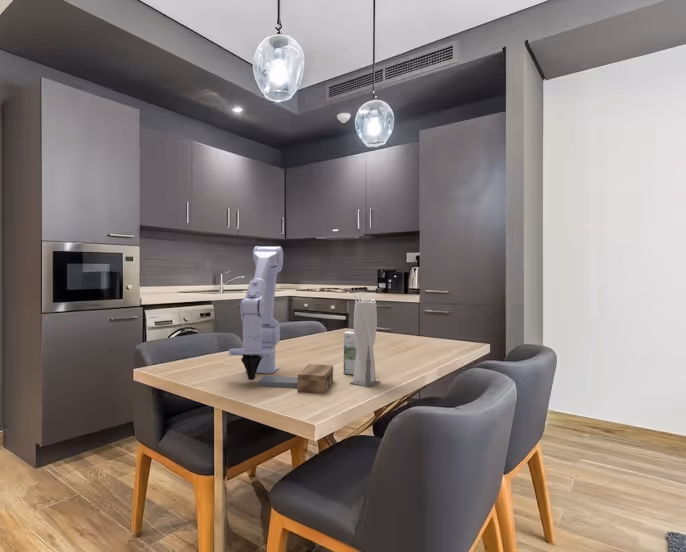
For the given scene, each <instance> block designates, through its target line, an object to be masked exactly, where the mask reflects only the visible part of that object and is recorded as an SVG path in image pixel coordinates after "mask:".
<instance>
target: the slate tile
mask: <svg viewBox="0 0 686 552" xmlns="http://www.w3.org/2000/svg"><path fill="white" fill-rule="evenodd" d="M258 386H264V387H265V388H283V389H284V388H285V389H286V388H287V389H289V388H290V389H298V376H284V375H282V376H280V375H279V376H278V375H264V376H263V377H261V378H260V379H259V380H258V381H257V387H258ZM264 387H263V388H264Z"/></svg>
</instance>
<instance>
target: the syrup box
mask: <svg viewBox="0 0 686 552" xmlns="http://www.w3.org/2000/svg"><path fill="white" fill-rule="evenodd" d="M356 351H357V349H356V344H355V338H354V330H346V331H345V332H343V375H349V376H354V367H355V358H356Z"/></svg>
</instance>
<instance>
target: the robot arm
mask: <svg viewBox="0 0 686 552" xmlns="http://www.w3.org/2000/svg"><path fill="white" fill-rule="evenodd" d="M252 259H253V262H254V265H255V270H254V278H253V279H251V280H250V281H249V284H248V287H247V290H246V293H245V297H244V298H243V299H241V301H240V305H239V312H240V315H241V316H240V318H241V322H242V347H240V348H232V347H231V348H229V349H228V356H230V357H231V356H242V357H241V358H240V360H241V362H242V364H243V366H244V368H245V372H246V375H247V379H248V381H253V380H255V379H256V375H257V374H273V373H274V372H276V371H277V370H278V369H280V368H279V366H276V346H277V345H278V344H279V343H280V339H281V325H280V323H279V321H278V320H277V319H275V318H274V308H275V295H276V284H277V277H278V273H280V272H281V271H282V270H283V266H284V265H283V263H284V251H283V247H282V246H258V245H256V246H255V247H254V248H253V251H252Z"/></svg>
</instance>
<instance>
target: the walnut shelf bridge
mask: <svg viewBox="0 0 686 552" xmlns="http://www.w3.org/2000/svg"><path fill="white" fill-rule="evenodd" d="M297 377H298V388H296V389H297V392H299V393H317V394H325V393H326V391H327V390H328V389H329V386H331V385H332V383H333V381H334V365H332V364H315V363H314V364H312V363H311V364H310V363H309V364H308V365H306V366H305V367H304V368H303V369H302V370H301V371H300V372H299V373H297Z"/></svg>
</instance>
